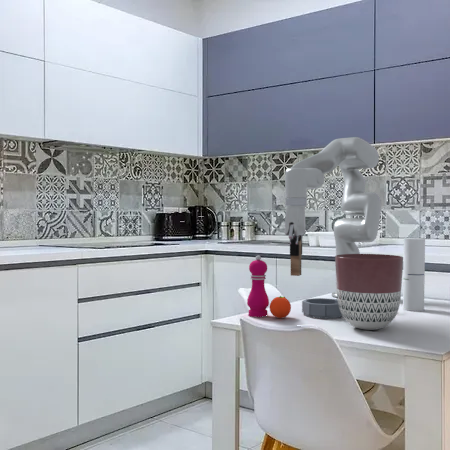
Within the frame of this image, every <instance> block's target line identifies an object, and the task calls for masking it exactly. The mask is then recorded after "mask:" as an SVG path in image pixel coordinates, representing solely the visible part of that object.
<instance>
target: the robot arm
mask: <svg viewBox="0 0 450 450" xmlns="http://www.w3.org/2000/svg"><path fill="white" fill-rule="evenodd" d="M379 159H380V155H379V151H378V150H377V148H376V147H375V146H373V145H372V144H370V143H369V142H368V141H366V140H365V139H363V138H361V137H358V136H353V137H342V138H336V139H335V138H334V139H333V140H332V141H330V142H329V143H328V144H327V145H326V146H325V147H324V148H323V149H322V150H321V151H319V152H317V153H316V154H315V153H314V154H313V155H311V156H308V157H306V158H304V159H302V160H300V161H298V162H296V163H295V164H293V165H292V166H291V167H290V168H287V169H286V170H285V171H284V172H285V173H284V182H285V183H284V185H285V187H284V190H285V191H284V192H285V193H284V197H285V198H284V199H285V200H284V201H285V205H284V207H285V208H286V209H285V216H284V235H285V236H288V240H289V256H290V257H291V256H299V244H298V241H301V256H302V255H303V237H304V235H305V233H306V227H307V226H306V208H308V207H307V206H308V203H307V201H308V199H307V198H308V197H307V196H308V195H307V194H308V190H317V189H319V188H321V187H322V186H323V184H324V182H325V175H324V174H327V173H331V172H333V171H334V170H335V169H336V168H337V167H339V169H340V171H341V173H342V176H343V179H344V181H343V182H344V183H343V191H342V198H341V204H340V205H341V206H340V207H341V212H342V214H344V215H346V216H355V217H344V218H340V219H337V220H336V221H335V223H334V225H333V237H334V241H335V256H336V255H341V254H361V253H360V252H361V251H360V249H359V247H358V245H357V244H356V243H373V242H374V241H375V240H376V238H377V236H378V233H379V226H380V219H381V211H382V200H381V197H380V195H379V194H378V193H377V192H373V191H366V184H367V183H366V182H367V181H366V179H365V177H364V175H363V174H362V172H361V171H360V170H361V169H362V170H364V169H374V168H375V167H376V166H377V165H378V164H379ZM360 216H361V217H362V218H360ZM363 217H364V218H363ZM331 296H332V297H333V298H337V286H336V285H335V291H333V292H331Z"/></svg>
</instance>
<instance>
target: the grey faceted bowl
mask: <svg viewBox="0 0 450 450" xmlns="http://www.w3.org/2000/svg"><path fill="white" fill-rule="evenodd" d="M301 307H302V308H301V313H303V316H305V315H306V316H305V317H308V316H309V317H308V318H313V317H315V318H314V319H337V318H339V319H340V318H341V317H343V316H342V314H341V312H340V309H339V306H338V301H337V298H336V299H335V298H327V297H326V298H323V297H316V298H305V299H303V300H302V301H301Z"/></svg>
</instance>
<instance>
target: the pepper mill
mask: <svg viewBox="0 0 450 450" xmlns="http://www.w3.org/2000/svg"><path fill="white" fill-rule="evenodd" d="M248 271H249V272H250V273H251V274H250V280H251V290H250V291H249V295H248V296H247V297H248V298H247V300H246V301H247V302H246V304H247V306H248V308H249V309H248V316H249V317H250V318H251V317H252V318H263V317H262V316H266V315H267V316H268V310H267V308H268V307H269V306H270V299H269V296H268V294H267V291H266V288H265V280H266V277H267V275H266V273H267V271H268V265H267V263H266V262H265V261H264V260H262V257H261V255H256V256H255V260H252V261H251V262H250V264H249V266H248ZM267 316H266V317H267Z"/></svg>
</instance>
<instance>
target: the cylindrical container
mask: <svg viewBox="0 0 450 450" xmlns="http://www.w3.org/2000/svg"><path fill="white" fill-rule="evenodd" d="M425 266H426V238H423V237H422V238H420V237H418V238H417V237H404V238H403V272H402V283H403V284H402V310H404V311H407V312H408V311H409V312H423V311H425V285H426V283H425V282H426V281H425V276H426V275H425V274H426V273H425V272H426V271H425V269H426V267H425Z"/></svg>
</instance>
